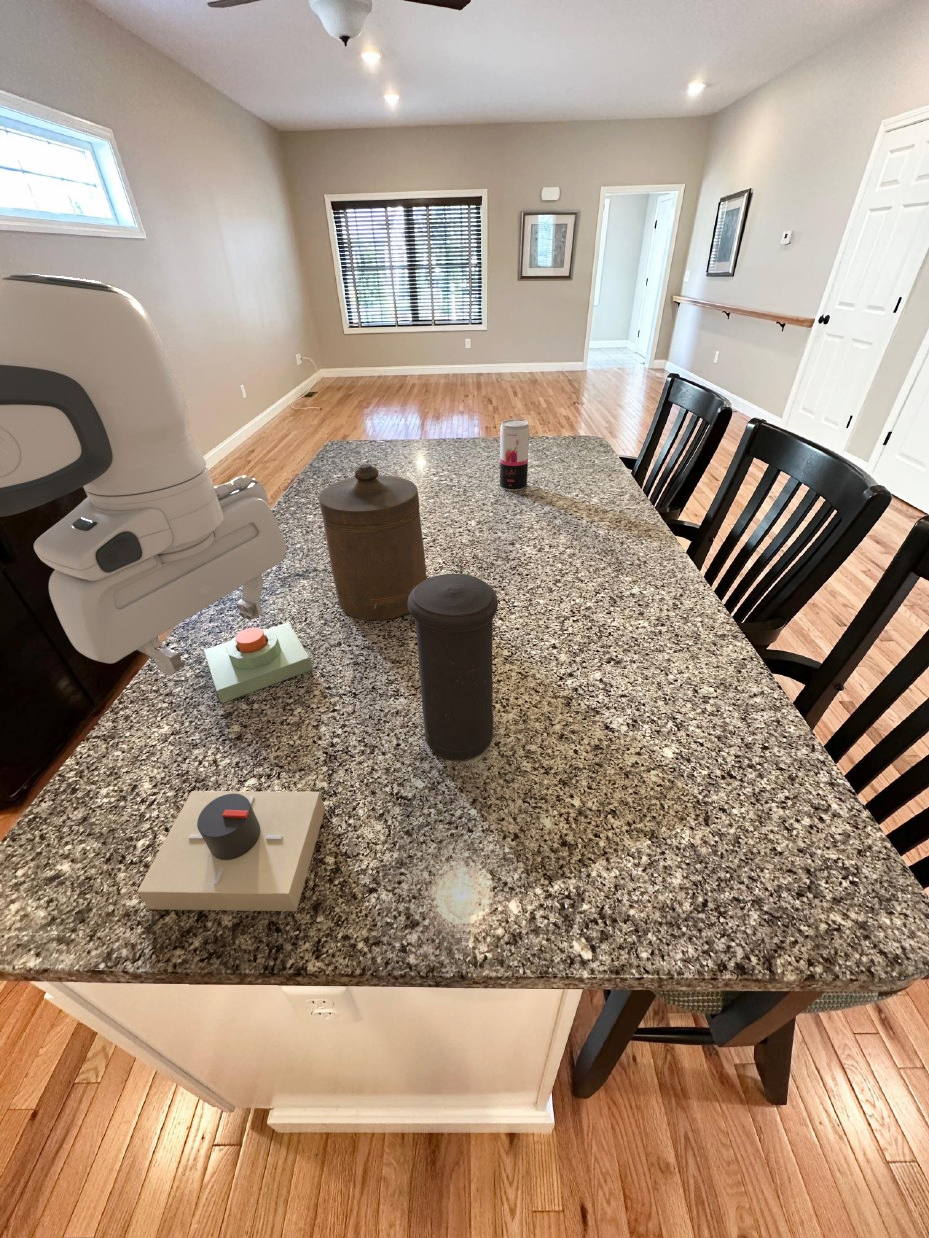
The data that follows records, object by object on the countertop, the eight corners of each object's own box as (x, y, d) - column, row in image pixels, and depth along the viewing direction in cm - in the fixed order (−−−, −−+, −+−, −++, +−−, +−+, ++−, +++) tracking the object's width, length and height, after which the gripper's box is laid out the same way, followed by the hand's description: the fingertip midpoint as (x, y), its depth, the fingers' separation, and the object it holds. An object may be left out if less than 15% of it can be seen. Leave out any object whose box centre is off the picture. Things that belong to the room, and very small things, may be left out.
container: (478, 698, 65) (476, 559, 54) (509, 750, 58) (513, 602, 47) (413, 718, 63) (396, 576, 51) (436, 773, 56) (422, 624, 44)
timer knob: (200, 859, 45) (185, 834, 43) (223, 814, 49) (210, 790, 47) (248, 861, 45) (236, 836, 43) (267, 816, 49) (257, 791, 46)
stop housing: (221, 703, 66) (211, 680, 63) (208, 661, 73) (199, 639, 70) (312, 669, 71) (306, 647, 68) (292, 633, 78) (286, 612, 75)
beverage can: (513, 493, 121) (515, 428, 113) (494, 486, 125) (494, 423, 117) (532, 486, 125) (535, 422, 116) (512, 479, 129) (514, 417, 120)
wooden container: (393, 565, 94) (378, 444, 82) (445, 595, 85) (438, 465, 73) (321, 595, 86) (292, 467, 74) (371, 633, 77) (347, 493, 65)
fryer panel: (150, 909, 45) (135, 890, 43) (201, 809, 53) (190, 789, 51) (296, 911, 44) (288, 892, 42) (325, 809, 52) (319, 790, 51)
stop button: (242, 657, 68) (238, 646, 67) (236, 643, 70) (232, 632, 69) (269, 647, 69) (266, 637, 68) (263, 634, 72) (259, 624, 71)
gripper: (235, 465, 51) (271, 583, 59) (7, 554, 37) (95, 694, 45) (281, 473, 48) (312, 596, 56) (55, 573, 34) (139, 718, 42)
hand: (215, 640), depth 50 cm, fingers open, 8 cm apart
